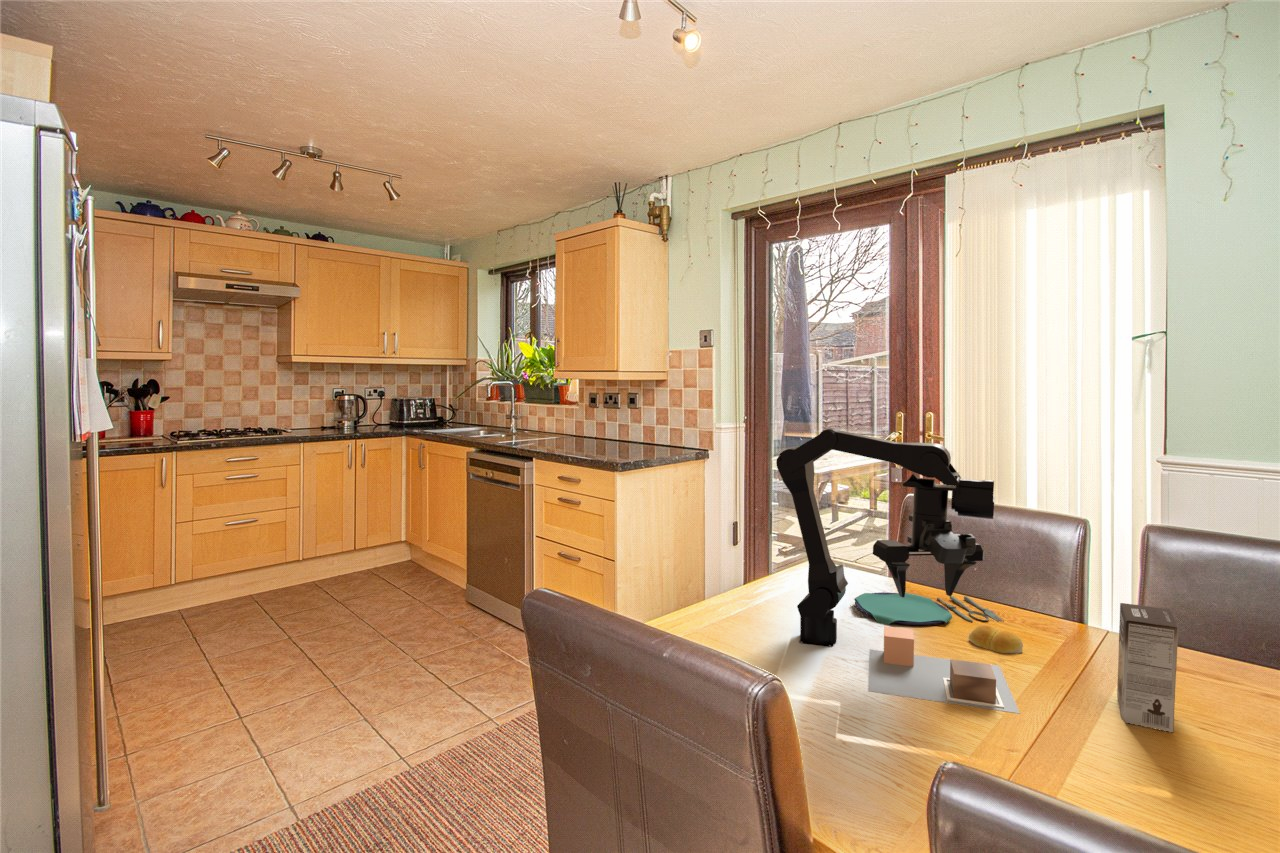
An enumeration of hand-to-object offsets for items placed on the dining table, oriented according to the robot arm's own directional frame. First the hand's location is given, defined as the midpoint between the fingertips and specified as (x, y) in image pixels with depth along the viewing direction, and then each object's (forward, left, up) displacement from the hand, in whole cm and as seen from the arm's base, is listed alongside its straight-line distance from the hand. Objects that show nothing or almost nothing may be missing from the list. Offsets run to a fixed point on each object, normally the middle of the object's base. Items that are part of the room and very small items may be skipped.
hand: (925, 596), depth 118 cm
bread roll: (+13, +12, -13) cm, 22 cm away
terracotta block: (-5, -2, -12) cm, 13 cm away
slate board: (+1, -8, -12) cm, 15 cm away
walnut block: (+6, -12, -12) cm, 18 cm away
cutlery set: (+1, +28, -13) cm, 31 cm away
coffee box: (+30, -10, -13) cm, 34 cm away
